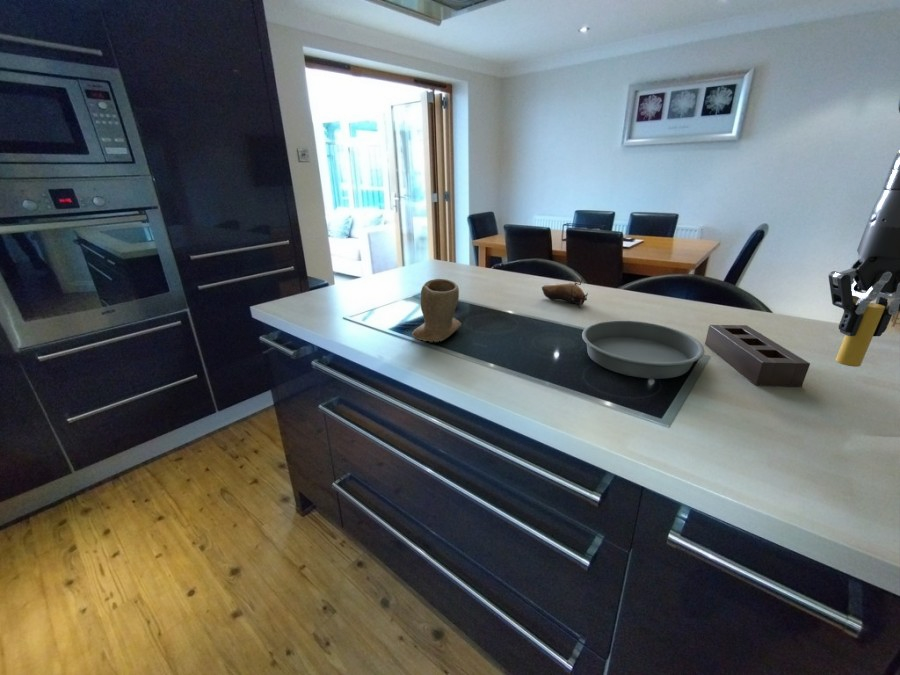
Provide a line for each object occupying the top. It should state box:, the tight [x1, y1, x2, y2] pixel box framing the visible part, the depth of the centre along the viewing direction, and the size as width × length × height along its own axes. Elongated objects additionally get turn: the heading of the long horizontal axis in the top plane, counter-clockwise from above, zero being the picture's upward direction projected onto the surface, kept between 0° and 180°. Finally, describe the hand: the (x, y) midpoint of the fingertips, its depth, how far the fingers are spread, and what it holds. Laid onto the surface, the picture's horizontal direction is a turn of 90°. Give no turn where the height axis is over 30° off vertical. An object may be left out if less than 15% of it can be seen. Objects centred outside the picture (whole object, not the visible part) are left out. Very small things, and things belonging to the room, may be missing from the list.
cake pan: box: [581, 320, 705, 380], centre depth 87 cm, size 25×25×4 cm
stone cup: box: [411, 278, 462, 343], centre depth 101 cm, size 15×12×15 cm
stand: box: [704, 324, 811, 388], centre depth 83 cm, size 8×20×5 cm, turn 174°
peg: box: [835, 302, 885, 368], centre depth 62 cm, size 3×3×10 cm
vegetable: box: [541, 276, 589, 308], centre depth 126 cm, size 16×11×10 cm
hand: (859, 333), depth 62 cm, fingers closed on peg, 3 cm apart
